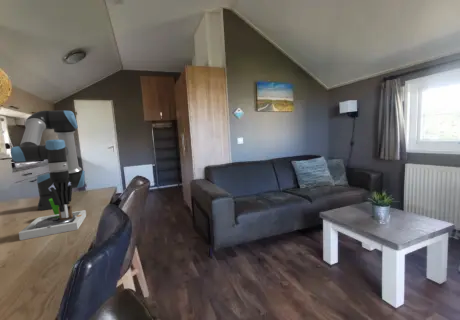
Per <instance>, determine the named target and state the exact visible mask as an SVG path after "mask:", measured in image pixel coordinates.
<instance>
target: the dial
mask: <svg viewBox="0 0 460 320" xmlns="http://www.w3.org/2000/svg"><path fill="white" fill-rule="evenodd" d="M58 210H59V216H55V217H51V218H47V219H44V220H42V221H40V222H38V223H37V224H36V229H37V228H43V227H48V226H49V225H51V226H54V225H60V224H66V223H71V222H73V221H74V220H75V215H73V214H72V212H73V208H72V205H68V216H69V217H67V218H62V217H61V212H60V209H59V207H58Z"/></svg>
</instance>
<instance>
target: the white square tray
mask: <svg viewBox="0 0 460 320" xmlns="http://www.w3.org/2000/svg"><path fill="white" fill-rule="evenodd" d="M72 214H73V215H75V220H74V221H73V222H71V223H66V224H60V225H54V226H51V225H49V226H48V227H43V228H37V229H36V224H37V223H38V222H40V221H42V220H44V219H47V218H51V217H55V216H59V214H57V215H55V214H51V215H46V216H39V217H37V218H35V219H34V220H32V222H30V223H29V224H28V225H26V227H24V228H23V229H22V230H20V231H19V232H18V238H19V241H25V240H30V239H36V238H41V237H45V236H51V235H56V234H61V233H66V232H71V231H78V230H79V229H80V226H81V225H82V223H83V222H84V220H85V219H86V218H87V211H86V209H83V210H77V211H72Z"/></svg>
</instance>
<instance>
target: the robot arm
mask: <svg viewBox="0 0 460 320" xmlns="http://www.w3.org/2000/svg"><path fill="white" fill-rule="evenodd" d="M24 127H25V129H24V132H23V135H22V139H21V140H20V144H19V146H18V145H17V146H13V147H11V148H10V155H11V159H12V161H14V162H15V163H19V162H21V163H22V162H32V161H34V162H35V161H43V160H44V161H45V160H46V161H47V165H48V166H47V167H48V172H46V173H43V174H40V175H38V176H37V177H36V184H37V188H38V195H39V199H38V202H37V209H38V210H39V211H48V210H53V209H52V206H51V204H50V201H49V199H51V198H52V199H53V202H54V204H55V205H57V206H59V209H60V212H61V217H62V218H67V217H69V216H68V206H69V204H70V202H72V198H73V197H72V196H73V195H72V194H73V189H78V188H83V187H84V186H85V174H86V173H85V170H83V168H81V167H80V166H79V161H78V154H77V147H76V140H75V135H74V134H75V133H76V131H77V130H76V129H78V127H79V126H78V122H77V118H76V116H75V113H74V112H73V111H71V110H63V109H62V110H60V109H59V110H39V111H36V112H34V113H32V114H31V115H30V116H28V117H27V118H26V120H25V122H24ZM45 130H53V132H54V133H55V134H56V135H57V139H46V140H45V144H41V141H42V136H43V132H44V131H45Z"/></svg>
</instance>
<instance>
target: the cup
mask: <svg viewBox="0 0 460 320" xmlns="http://www.w3.org/2000/svg"><path fill="white" fill-rule="evenodd" d="M49 201H50V204H51V206H52V209H51V210H52V211H53V215H57V214H59V210H58V207H59V206H57V205H55V204H54V202H53V199H52V198H51V199H49Z"/></svg>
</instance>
